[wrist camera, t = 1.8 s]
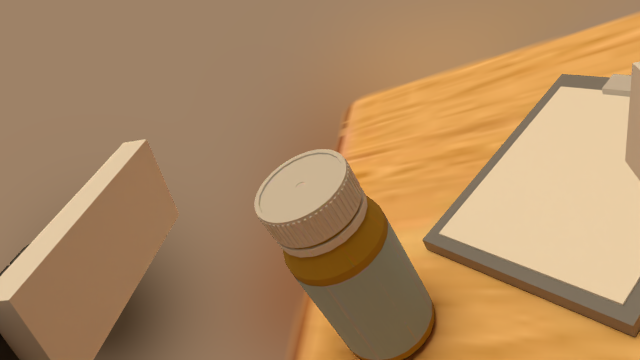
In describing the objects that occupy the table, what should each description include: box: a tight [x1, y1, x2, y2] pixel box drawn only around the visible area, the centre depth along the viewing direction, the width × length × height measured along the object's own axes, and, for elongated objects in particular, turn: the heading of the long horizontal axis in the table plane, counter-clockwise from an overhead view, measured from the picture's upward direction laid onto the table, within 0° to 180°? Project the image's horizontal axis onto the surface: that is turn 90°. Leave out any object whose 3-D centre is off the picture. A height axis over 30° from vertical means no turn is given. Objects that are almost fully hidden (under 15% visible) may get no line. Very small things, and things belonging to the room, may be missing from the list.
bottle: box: [255, 149, 435, 360], centre depth 35 cm, size 7×7×15 cm
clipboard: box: [423, 74, 640, 337], centre depth 40 cm, size 22×16×2 cm
